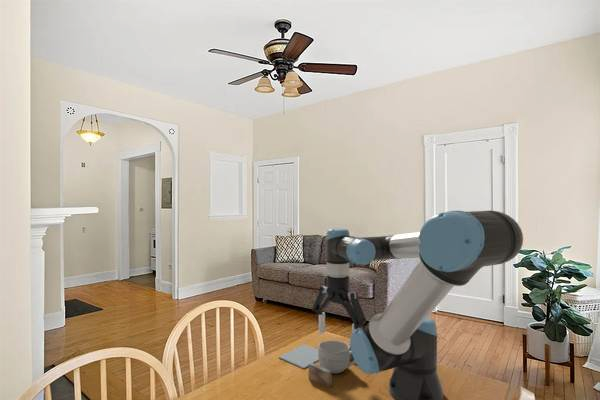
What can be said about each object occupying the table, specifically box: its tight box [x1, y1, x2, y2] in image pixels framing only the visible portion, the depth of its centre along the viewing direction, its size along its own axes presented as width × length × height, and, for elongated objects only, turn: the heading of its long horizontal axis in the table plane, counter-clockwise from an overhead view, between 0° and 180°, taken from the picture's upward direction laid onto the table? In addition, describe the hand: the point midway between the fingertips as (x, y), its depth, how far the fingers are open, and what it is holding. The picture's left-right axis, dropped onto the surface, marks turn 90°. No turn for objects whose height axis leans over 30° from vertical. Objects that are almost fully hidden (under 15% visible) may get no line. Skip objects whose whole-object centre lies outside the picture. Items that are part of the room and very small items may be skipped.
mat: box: [278, 343, 319, 370], centre depth 123 cm, size 12×14×1 cm
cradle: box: [308, 343, 354, 389], centre depth 113 cm, size 8×21×5 cm, turn 138°
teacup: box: [317, 339, 356, 374], centre depth 113 cm, size 14×11×8 cm
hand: (337, 338), depth 113 cm, fingers open, 13 cm apart
